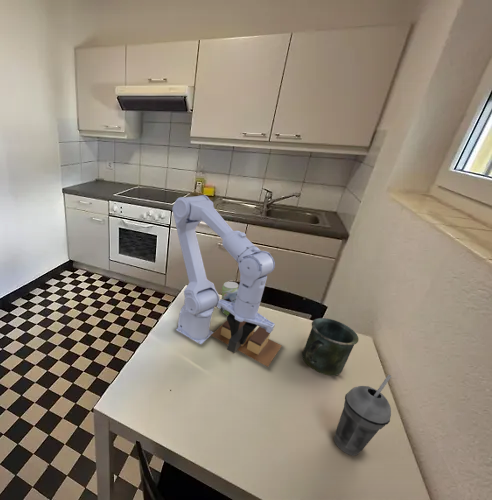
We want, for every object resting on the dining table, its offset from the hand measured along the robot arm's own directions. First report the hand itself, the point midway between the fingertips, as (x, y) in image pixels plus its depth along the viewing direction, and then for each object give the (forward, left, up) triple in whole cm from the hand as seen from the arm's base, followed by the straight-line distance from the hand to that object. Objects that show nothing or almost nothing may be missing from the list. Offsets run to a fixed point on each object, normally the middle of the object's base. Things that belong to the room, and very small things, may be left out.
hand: (238, 340), depth 76 cm
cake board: (-1, +11, -8) cm, 14 cm away
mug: (+18, +17, -9) cm, 26 cm away
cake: (-4, +12, -8) cm, 15 cm away
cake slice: (+2, +12, -8) cm, 14 cm away
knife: (0, +5, -1) cm, 5 cm away
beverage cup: (+28, -4, -9) cm, 29 cm away
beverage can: (-12, +21, -9) cm, 26 cm away
